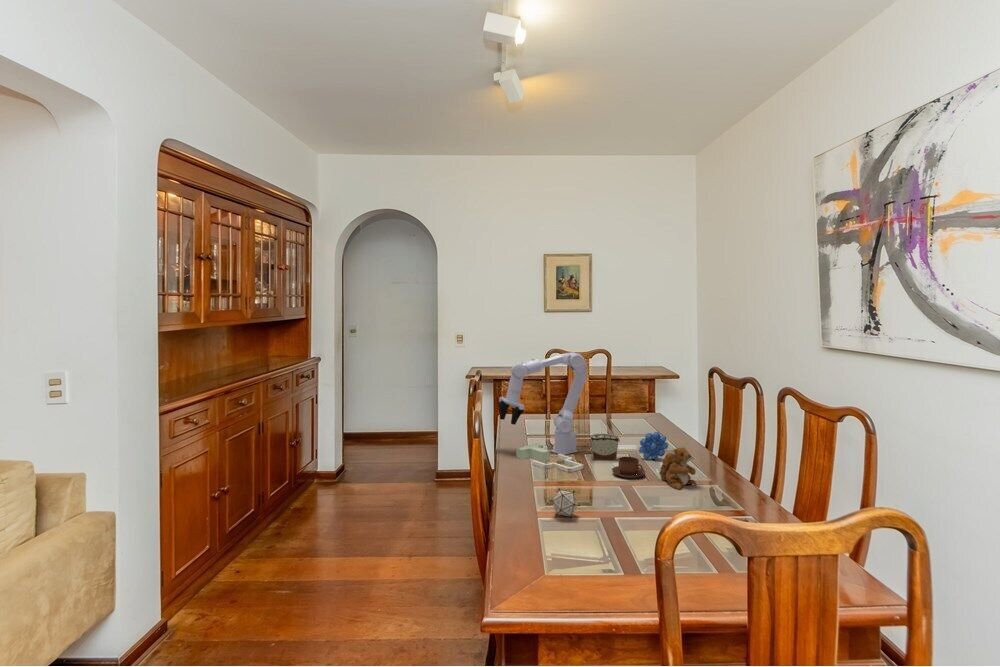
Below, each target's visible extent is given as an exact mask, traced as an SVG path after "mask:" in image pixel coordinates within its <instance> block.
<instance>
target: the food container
mask: <svg viewBox="0 0 1000 667" xmlns="http://www.w3.org/2000/svg"><path fill="white" fill-rule="evenodd" d="M589 441H590V443H591V451H592V459H593V461H595V462H596V461H601V462H617V457H618V448H619V443H620V442H621V440H620V437H619V436H618V435H615V434H612V433H611V434H610V433H593V434H592V435H591V436H590V438H589Z"/></svg>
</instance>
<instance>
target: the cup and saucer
mask: <svg viewBox="0 0 1000 667" xmlns="http://www.w3.org/2000/svg"><path fill="white" fill-rule="evenodd" d="M639 461H640V460H639V459H638V458H636V457H633V456H621V457H618V465H617V466H613V467H612V468H611V471H612V473H613V474H614V475H616V476H619V477H621V478H626V479H637V478H641V477H643V476H644V475H645V473H646V470H645V469H644V467H643V465H641V464H639ZM636 474H637V475H636Z"/></svg>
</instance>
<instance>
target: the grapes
mask: <svg viewBox="0 0 1000 667" xmlns="http://www.w3.org/2000/svg"><path fill="white" fill-rule="evenodd" d="M666 441H667V436H666V435H662V434H661V433H660V432H659V431H655V432H653V433H651V432H650V433H649V432H648V433H646V434H645V436H644V438H642V439H640V440H639V445H640V446H639V448H638V449H639V450H638V452H639V453H641V454H643V458H644V459H645V458H648V459H650V460H652V459H656V460H657V459H658V458H659V457H665V455H666V451H665V450H668V448H669V443H668V442H666Z"/></svg>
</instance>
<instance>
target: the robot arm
mask: <svg viewBox="0 0 1000 667" xmlns="http://www.w3.org/2000/svg"><path fill="white" fill-rule="evenodd" d="M559 364H562V365H567V366H568V367H569V368H570V369H571V371H572V373H573V374H574V378H573V380H572V382H571V385H570V388H569V390H568V393H567V396H566V398H565V400H564V404H563V405H562V408H561V409H560V410H559V413H558V414H557V415H556V417H555V418H554V420H553V425H554V426H555V429H554V449H551V450H549V451H550V452H552V453H554V454H557V455H558V454H561V455H565V456H567V455H568V454H573V453H578V452H579V451H578V450H577V436H576V433H575V432H574V430H573V429H572V428H573V420H574V412H575V409H576V406H577V405H578V403H579V402H578V401H579V399H580V397H581V394H582V391H583V388H584V386H585V384H586V381H587V379H588V370H587V369H588V368H587V361H586V359H585V358H584V356H583V355H582V354H580V353H576V352H574V351H570V352H567V353H566V352H565V353H561V354H558V355H554V356H551V357H549V358H548V357H547V358H545V359H542V360H541V359H539V358H531V360H528V361H521V362H520V363H515V364H513V366H512V367H511V368H510V373H511V375H510V379H509V382H508V385H507V387H508V388H507V392H506V396H505V397H503V396H499V398H498V403H497V405H498V409H499V410H498V411H499V420H505V419H506V416H507V412H508V409H509V407H510V406H511V420H510V425H516V424H517V422H518V421H519V418H520V417H521V416H522V414H523V413H524V412H525V404H522V403H520V402H519V401H520V398H521V392H522V387H523V383H524V382H523V381H524V377H525V376H526V375H527V376H529V375H532V374H536V373H540V372H542V371H543V369H544V368H547V367H551V366H555V365H559Z"/></svg>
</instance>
